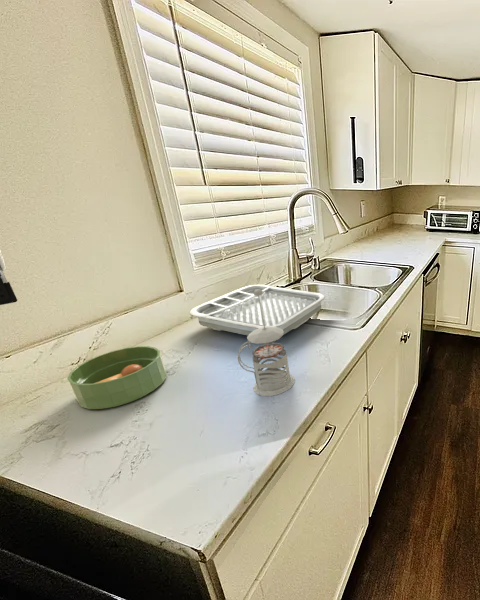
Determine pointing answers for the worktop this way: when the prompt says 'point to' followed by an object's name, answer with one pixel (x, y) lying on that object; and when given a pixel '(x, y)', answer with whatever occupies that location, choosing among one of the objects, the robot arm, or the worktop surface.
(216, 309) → the dish rack
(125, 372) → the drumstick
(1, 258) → the robot arm
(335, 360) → the worktop surface
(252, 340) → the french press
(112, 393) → the green shallow bowl
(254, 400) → the worktop surface
